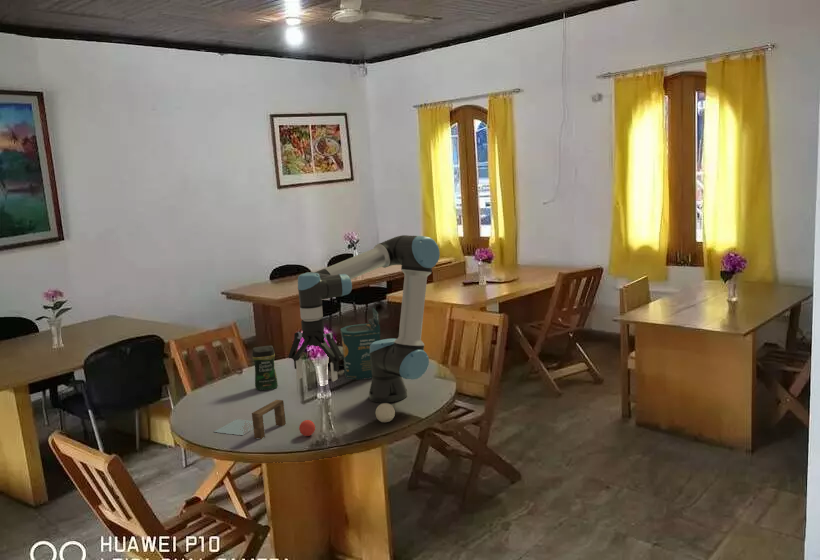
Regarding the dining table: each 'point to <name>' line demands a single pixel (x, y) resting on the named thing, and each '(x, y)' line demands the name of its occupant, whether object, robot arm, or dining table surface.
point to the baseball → (385, 412)
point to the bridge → (258, 415)
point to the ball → (307, 428)
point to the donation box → (359, 347)
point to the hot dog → (341, 362)
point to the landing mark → (234, 427)
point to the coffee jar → (264, 368)
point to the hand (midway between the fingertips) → (317, 379)
